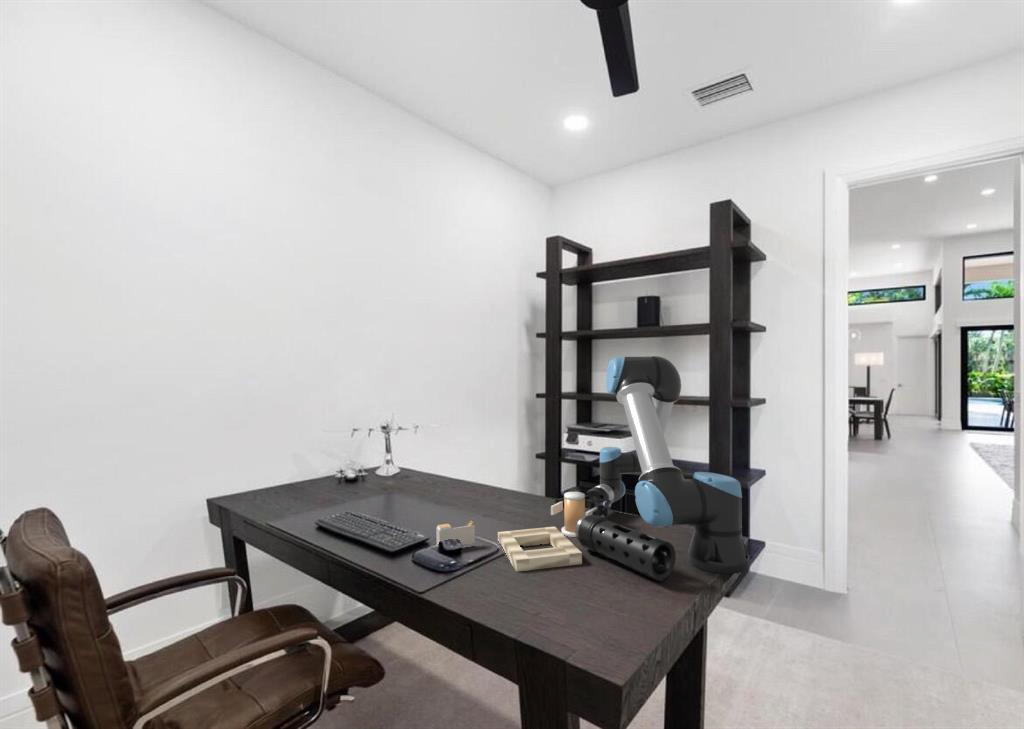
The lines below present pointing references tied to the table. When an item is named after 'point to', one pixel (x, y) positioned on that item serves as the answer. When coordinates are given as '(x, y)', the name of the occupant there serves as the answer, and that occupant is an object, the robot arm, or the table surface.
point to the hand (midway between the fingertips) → (568, 513)
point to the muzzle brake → (626, 546)
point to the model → (456, 533)
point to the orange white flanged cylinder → (573, 511)
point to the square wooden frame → (539, 558)
